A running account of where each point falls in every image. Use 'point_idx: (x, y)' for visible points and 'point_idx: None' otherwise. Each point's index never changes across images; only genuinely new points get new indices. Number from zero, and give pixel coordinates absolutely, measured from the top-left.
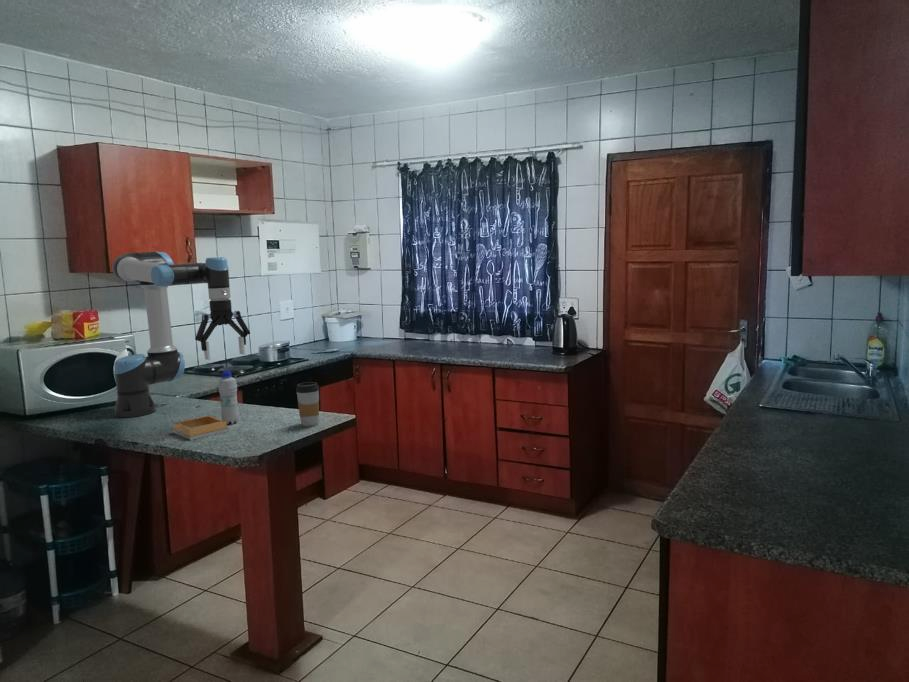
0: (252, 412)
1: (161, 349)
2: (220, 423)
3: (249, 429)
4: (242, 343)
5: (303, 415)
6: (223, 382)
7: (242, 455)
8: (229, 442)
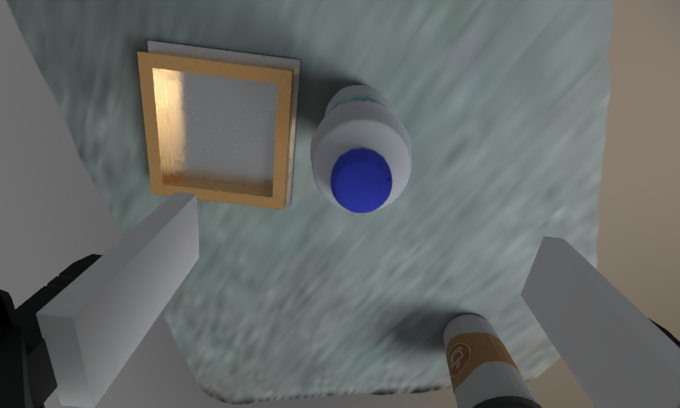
0: (509, 46)
1: None
2: (263, 205)
3: (341, 237)
4: (583, 382)
5: (447, 361)
6: (319, 189)
7: (208, 381)
8: (235, 290)
